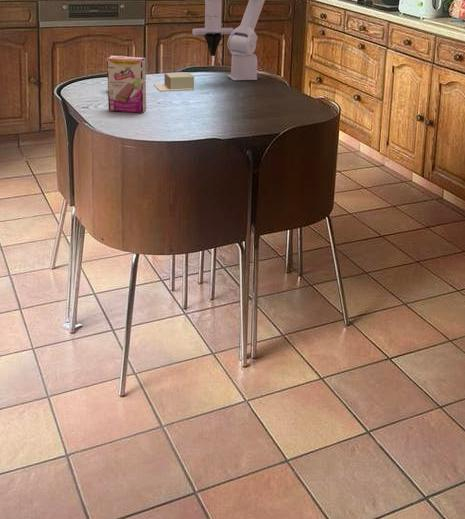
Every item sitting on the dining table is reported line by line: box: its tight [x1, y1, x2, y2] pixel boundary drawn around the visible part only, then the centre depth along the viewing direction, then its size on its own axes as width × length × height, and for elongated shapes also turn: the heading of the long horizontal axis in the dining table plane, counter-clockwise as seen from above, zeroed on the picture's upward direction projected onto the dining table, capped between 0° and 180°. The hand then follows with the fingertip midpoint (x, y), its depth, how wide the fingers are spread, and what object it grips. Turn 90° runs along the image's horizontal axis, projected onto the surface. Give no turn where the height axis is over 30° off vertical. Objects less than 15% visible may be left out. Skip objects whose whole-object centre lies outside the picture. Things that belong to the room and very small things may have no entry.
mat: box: [153, 83, 194, 92], centre depth 259 cm, size 12×10×1 cm
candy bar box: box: [106, 55, 147, 114], centre depth 225 cm, size 11×5×16 cm, turn 84°
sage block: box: [163, 72, 195, 89], centre depth 258 cm, size 4×7×9 cm
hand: (212, 55), depth 260 cm, fingers closed
